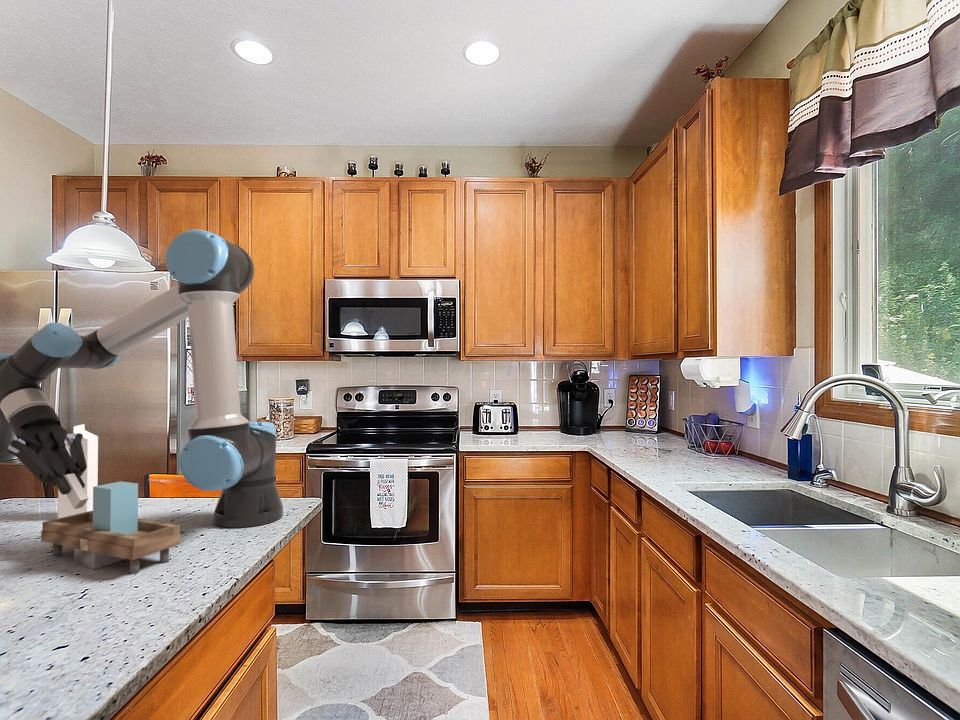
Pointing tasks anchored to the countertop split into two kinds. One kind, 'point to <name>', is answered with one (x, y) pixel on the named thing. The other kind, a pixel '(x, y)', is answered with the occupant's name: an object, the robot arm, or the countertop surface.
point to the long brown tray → (109, 541)
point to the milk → (87, 477)
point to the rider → (116, 507)
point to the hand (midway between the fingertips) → (81, 503)
